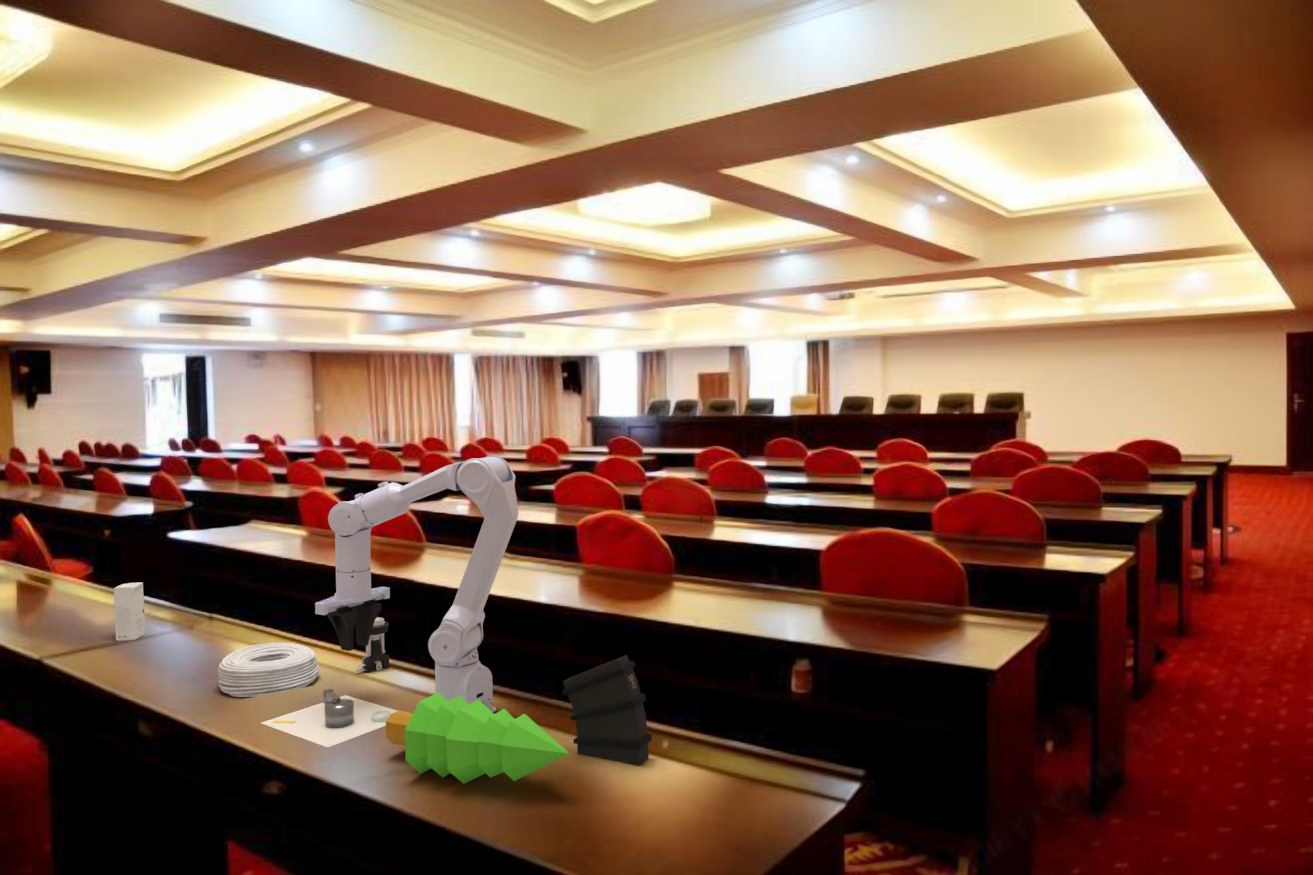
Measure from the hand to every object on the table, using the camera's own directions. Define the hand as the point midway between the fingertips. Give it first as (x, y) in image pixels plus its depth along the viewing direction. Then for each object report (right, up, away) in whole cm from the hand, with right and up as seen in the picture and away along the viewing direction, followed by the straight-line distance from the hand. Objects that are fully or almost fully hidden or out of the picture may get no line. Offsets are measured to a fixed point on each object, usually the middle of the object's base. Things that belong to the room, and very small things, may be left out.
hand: (354, 647), depth 148 cm
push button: (-4, -10, +21) cm, 24 cm away
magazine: (+45, -11, -21) cm, 51 cm away
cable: (-21, -11, +13) cm, 27 cm away
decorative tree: (+27, -12, -29) cm, 41 cm away
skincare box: (-68, -9, +47) cm, 83 cm away
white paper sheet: (0, -11, -8) cm, 14 cm away
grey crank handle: (0, -10, -8) cm, 13 cm away
